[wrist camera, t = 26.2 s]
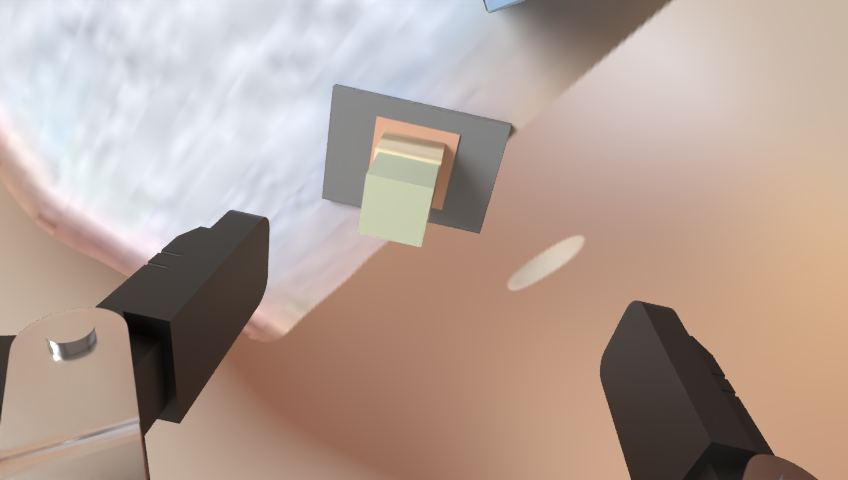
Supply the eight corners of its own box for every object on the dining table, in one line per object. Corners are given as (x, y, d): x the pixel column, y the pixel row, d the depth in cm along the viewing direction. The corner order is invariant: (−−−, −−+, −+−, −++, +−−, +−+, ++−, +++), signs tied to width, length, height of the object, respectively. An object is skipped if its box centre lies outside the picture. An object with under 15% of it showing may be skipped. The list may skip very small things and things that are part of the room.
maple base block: (385, 130, 43) (375, 147, 38) (445, 143, 43) (441, 162, 38) (377, 185, 45) (366, 207, 41) (433, 197, 45) (428, 221, 41)
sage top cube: (378, 151, 38) (366, 173, 34) (439, 164, 38) (433, 188, 34) (370, 206, 41) (357, 233, 36) (427, 218, 41) (421, 247, 37)
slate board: (335, 83, 42) (332, 86, 41) (510, 123, 42) (511, 127, 41) (324, 194, 48) (321, 199, 47) (479, 228, 48) (479, 234, 47)
